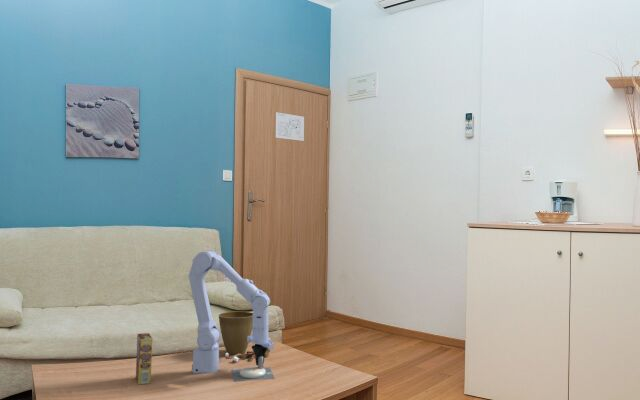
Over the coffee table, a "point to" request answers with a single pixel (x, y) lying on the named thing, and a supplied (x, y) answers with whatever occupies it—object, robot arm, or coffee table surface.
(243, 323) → the plant pot
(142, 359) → the candy box
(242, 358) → the character figurine
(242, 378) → the stand plate
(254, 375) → the dial
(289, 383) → the coffee table surface
